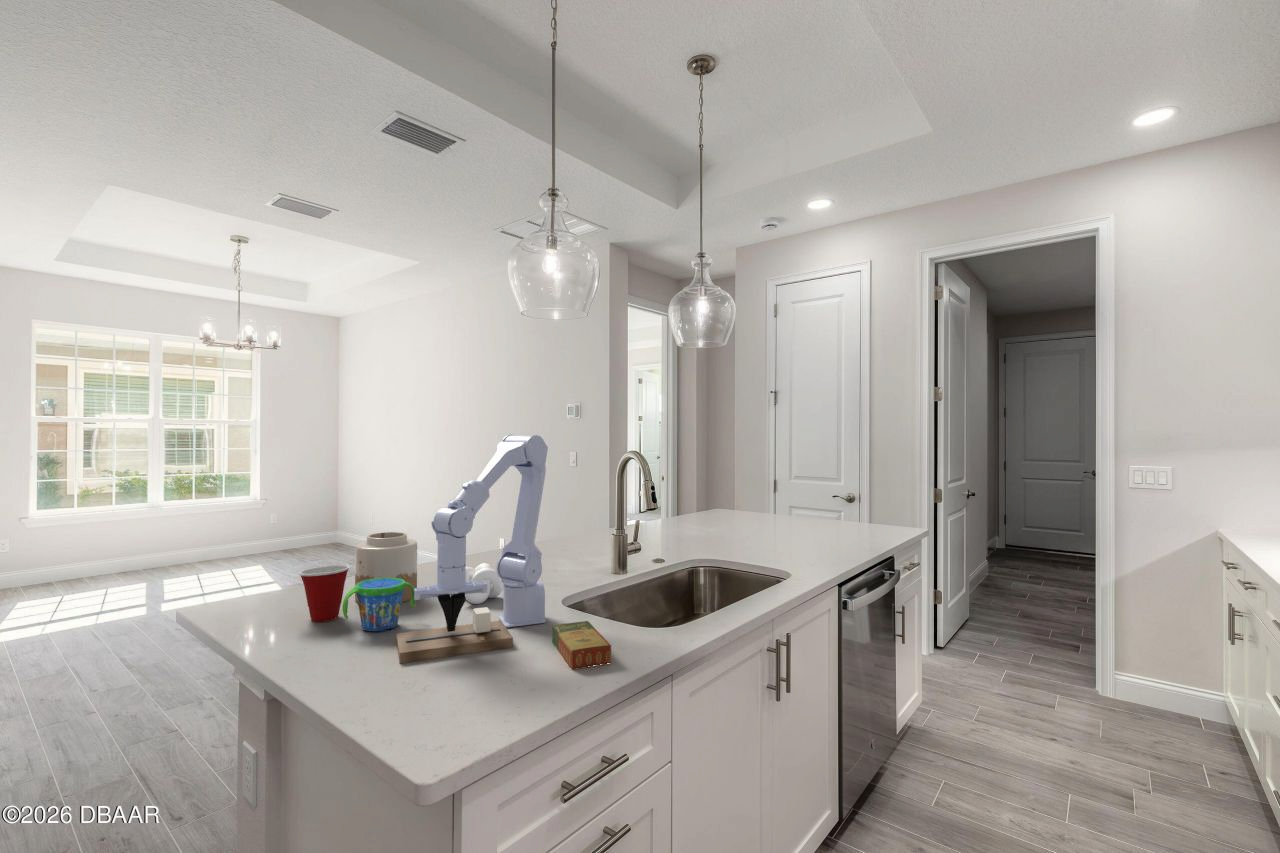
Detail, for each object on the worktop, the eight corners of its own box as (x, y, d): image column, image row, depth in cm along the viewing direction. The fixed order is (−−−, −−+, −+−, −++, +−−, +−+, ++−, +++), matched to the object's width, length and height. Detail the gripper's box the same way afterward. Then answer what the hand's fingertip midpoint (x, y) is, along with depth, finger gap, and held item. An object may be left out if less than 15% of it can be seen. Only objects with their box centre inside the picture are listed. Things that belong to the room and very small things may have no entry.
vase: (403, 606, 153) (403, 540, 153) (343, 605, 154) (344, 540, 154) (425, 590, 169) (426, 530, 169) (371, 589, 169) (371, 529, 169)
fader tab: (487, 625, 132) (487, 607, 132) (490, 631, 128) (490, 612, 128) (472, 627, 130) (473, 608, 130) (475, 633, 127) (476, 614, 127)
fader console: (501, 629, 137) (501, 619, 137) (512, 647, 126) (512, 636, 126) (396, 642, 128) (396, 631, 128) (399, 663, 117) (399, 651, 117)
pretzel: (508, 593, 166) (508, 561, 166) (498, 607, 154) (498, 571, 154) (466, 593, 166) (467, 561, 166) (453, 606, 154) (454, 571, 154)
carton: (570, 672, 115) (570, 649, 115) (551, 643, 130) (551, 623, 130) (611, 665, 118) (611, 643, 118) (588, 638, 133) (588, 619, 133)
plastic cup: (334, 608, 151) (334, 560, 151) (358, 616, 145) (359, 566, 145) (289, 619, 142) (289, 569, 142) (313, 628, 136) (314, 575, 136)
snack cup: (410, 615, 146) (410, 573, 146) (421, 627, 137) (421, 583, 137) (339, 626, 138) (339, 582, 138) (345, 640, 129) (346, 593, 129)
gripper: (416, 572, 120) (415, 640, 120) (490, 566, 126) (489, 631, 126) (413, 565, 126) (412, 629, 126) (484, 559, 132) (483, 621, 132)
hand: (450, 629), depth 127 cm, fingers closed
